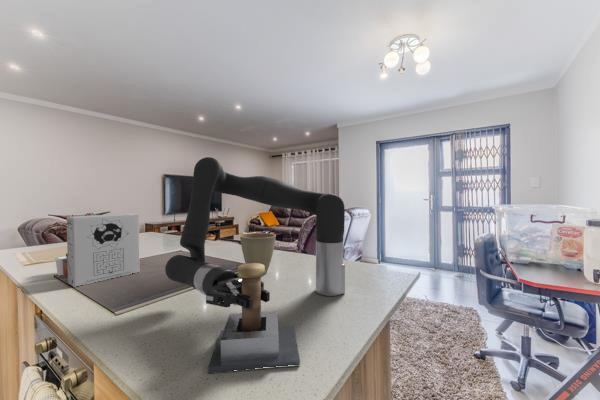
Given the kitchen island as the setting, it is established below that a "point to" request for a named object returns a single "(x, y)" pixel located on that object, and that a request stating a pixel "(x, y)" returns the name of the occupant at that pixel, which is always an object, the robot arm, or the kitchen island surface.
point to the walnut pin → (251, 295)
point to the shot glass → (60, 265)
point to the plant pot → (258, 248)
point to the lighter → (65, 267)
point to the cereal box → (102, 247)
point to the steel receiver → (254, 345)
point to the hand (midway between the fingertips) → (259, 300)
